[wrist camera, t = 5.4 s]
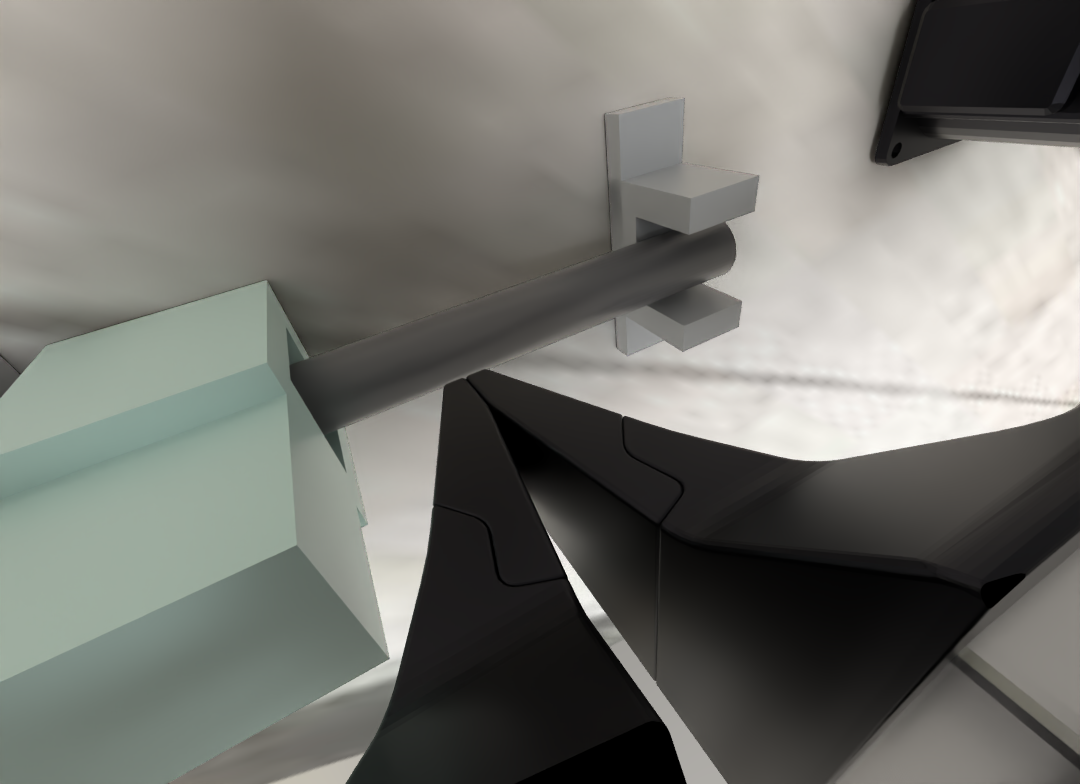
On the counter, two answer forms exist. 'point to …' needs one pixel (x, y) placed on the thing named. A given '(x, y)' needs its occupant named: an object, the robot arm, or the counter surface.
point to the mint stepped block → (172, 547)
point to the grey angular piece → (564, 284)
